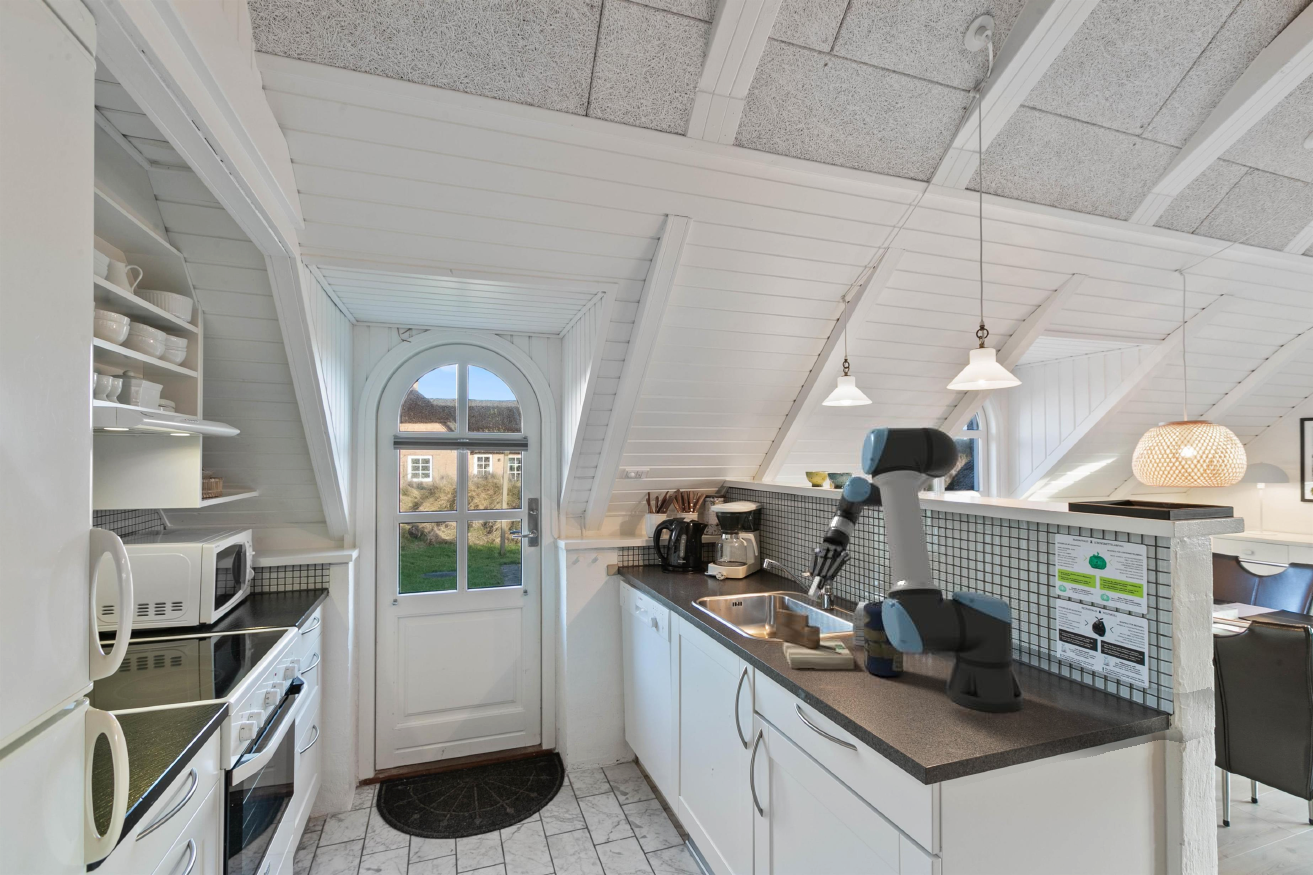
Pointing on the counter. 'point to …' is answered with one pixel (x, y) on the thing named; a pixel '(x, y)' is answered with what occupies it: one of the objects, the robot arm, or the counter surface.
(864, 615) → the canister
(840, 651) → the dial board
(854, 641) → the supplement box
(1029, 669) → the counter surface
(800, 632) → the brown stepped wooden block
